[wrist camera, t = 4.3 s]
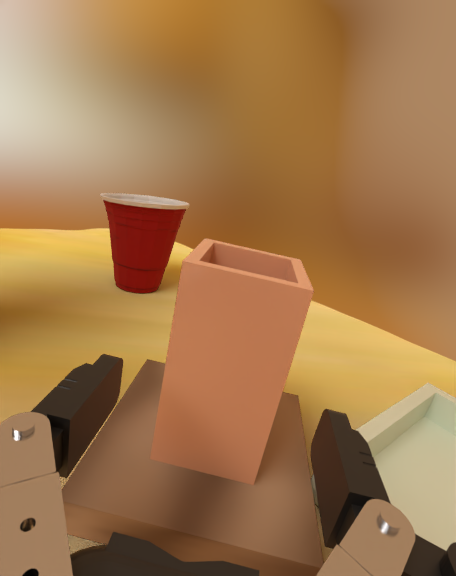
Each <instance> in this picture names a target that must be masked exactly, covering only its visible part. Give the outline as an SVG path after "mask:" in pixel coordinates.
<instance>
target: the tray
mask: <svg viewBox="0 0 456 576" xmlns="http://www.w3.org/2000/svg"><path fill="white" fill-rule="evenodd" d="M356 431H359V433H360V434H361V435H362V436H363V438H364V439H365V440H366V441H367V443H368V445H369V448H370V450H371V453H372V457H373V458H374V461H375V463H376V467H377V469H378V471H379V474H380V476H381V479H382V482H383V484H384V487H385V489H386V492H387V495H388V497H389V500H390V503H391V504H392V505H393V506H395V507H396V508H398V509H399V510H400V511H401V512H402V513H403V514H404V515H405V516H406V517H407V519H408V520H409V521H410V523H411V525H412V527H413V529H414V532H415V534H417V535H418V536H420V537H422V538H423V539H425V540H427V541H429V542H431V543H433V544H434V545H436V546H438V547H440V548H442V549H444V550H447V549H448V547H449V546H450V544H452V543H454V542H456V398H455V397H453V396H451V395H449V394H448V393H446V392H444V391H442V390H440V389H439V388H437V387H435V386H433V385H431V384H430V383H427V384H425V385H424V386H422V387H421V388H419V389H418V390H416V391H415V392H413V393H412V394H410V395H408V396H407V397H405V398H404V399H402V400H401V401H399V402H398V403H396V404H395V405H393V406H391V407H390V408H388V409H387V410H385V411H384V412H382V413H381V414H379V415H378V416H376V417H374V418H373V419H371V420H370V421H368V422H367V423H365V424H364V425H362V426H361V427H359V428H357V429H356ZM311 485H312V491H313V498H314V503H315V504H316V505H317V506H318V507H319V505H318V499H317V492H316V486H315V480H314V473H313V476H312V478H311Z"/></svg>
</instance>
